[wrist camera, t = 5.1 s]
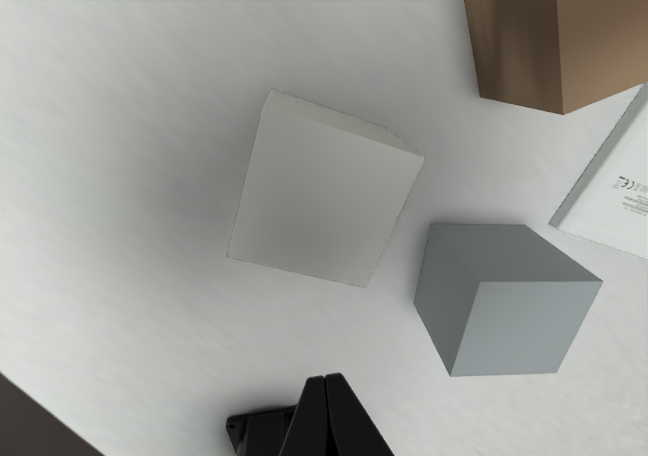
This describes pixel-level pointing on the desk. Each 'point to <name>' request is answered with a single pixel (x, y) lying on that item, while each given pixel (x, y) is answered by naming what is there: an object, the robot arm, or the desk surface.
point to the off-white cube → (321, 191)
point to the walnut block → (558, 50)
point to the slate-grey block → (500, 299)
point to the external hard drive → (614, 188)
